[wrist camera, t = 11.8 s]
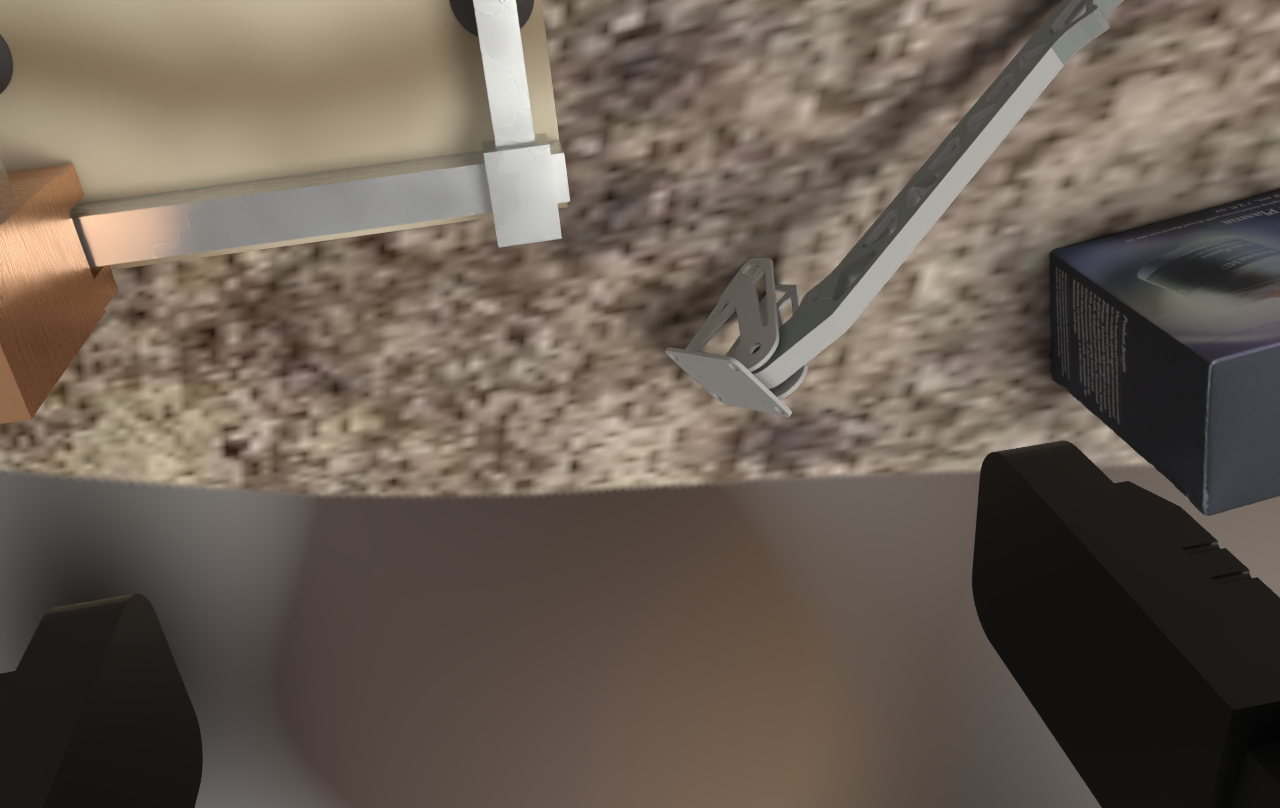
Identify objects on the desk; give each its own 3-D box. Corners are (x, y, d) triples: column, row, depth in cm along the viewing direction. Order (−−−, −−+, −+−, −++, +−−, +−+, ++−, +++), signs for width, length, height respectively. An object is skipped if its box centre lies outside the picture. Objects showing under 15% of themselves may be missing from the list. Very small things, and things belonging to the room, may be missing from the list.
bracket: (659, 349, 39) (831, 377, 30) (961, -73, 43) (1191, -158, 34) (716, 401, 40) (896, 442, 31) (1003, -12, 44) (1234, -78, 35)
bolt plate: (-204, -124, 30) (-230, -122, 28) (514, -195, 32) (517, -196, 30) (-34, 278, 35) (-49, 293, 34) (564, 196, 37) (567, 208, 36)
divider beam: (-159, 37, 31) (-215, 56, 28) (536, -42, 33) (544, -31, 30) (-48, 292, 34) (-88, 330, 32) (567, 206, 36) (577, 236, 34)
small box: (1301, 171, 42) (1541, 267, 33) (1287, 318, 45) (1502, 442, 36) (1044, 242, 41) (1215, 359, 32) (1049, 385, 45) (1205, 528, 36)
